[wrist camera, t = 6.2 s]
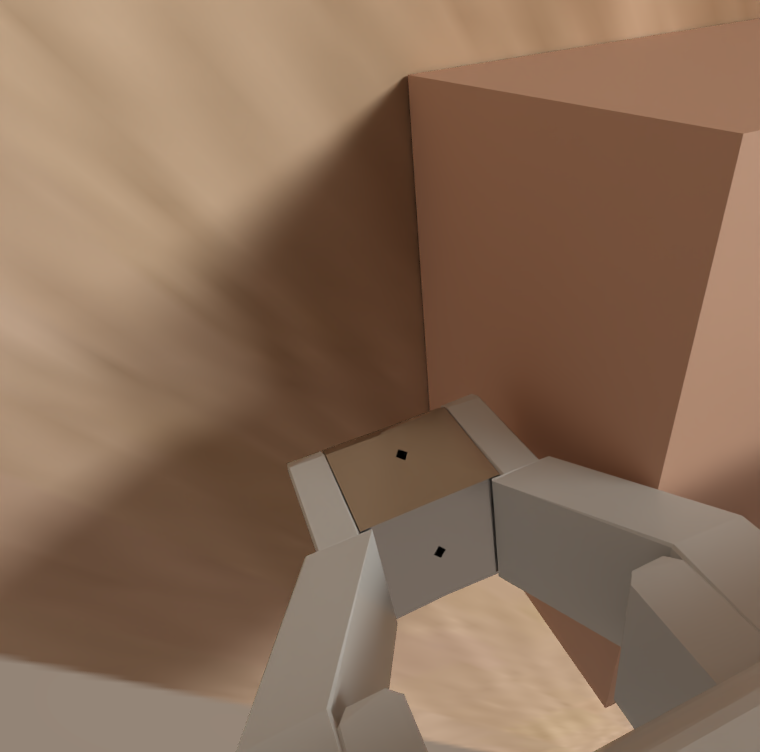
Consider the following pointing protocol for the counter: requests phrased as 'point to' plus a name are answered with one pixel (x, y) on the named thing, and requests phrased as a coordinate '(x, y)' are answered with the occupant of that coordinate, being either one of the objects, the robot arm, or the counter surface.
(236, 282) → the counter surface
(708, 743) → the robot arm
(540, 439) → the terracotta block
